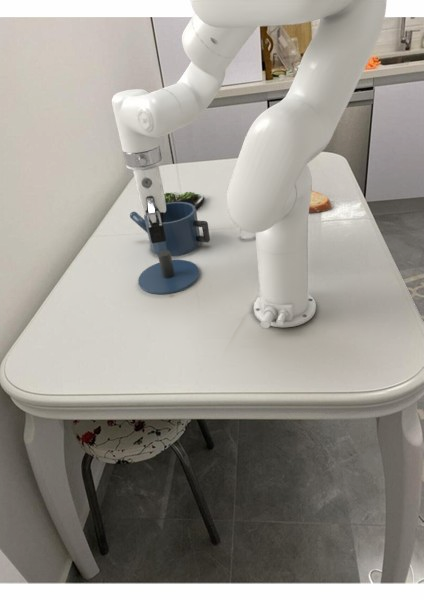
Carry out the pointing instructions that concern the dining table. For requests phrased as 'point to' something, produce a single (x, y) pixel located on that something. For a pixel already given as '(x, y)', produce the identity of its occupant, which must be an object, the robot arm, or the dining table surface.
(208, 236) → the teapot spout and handle
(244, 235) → the eye dropper bottle
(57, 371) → the dining table surface
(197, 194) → the salad plate
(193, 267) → the teapot lid
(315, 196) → the slice of bread
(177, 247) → the teapot
